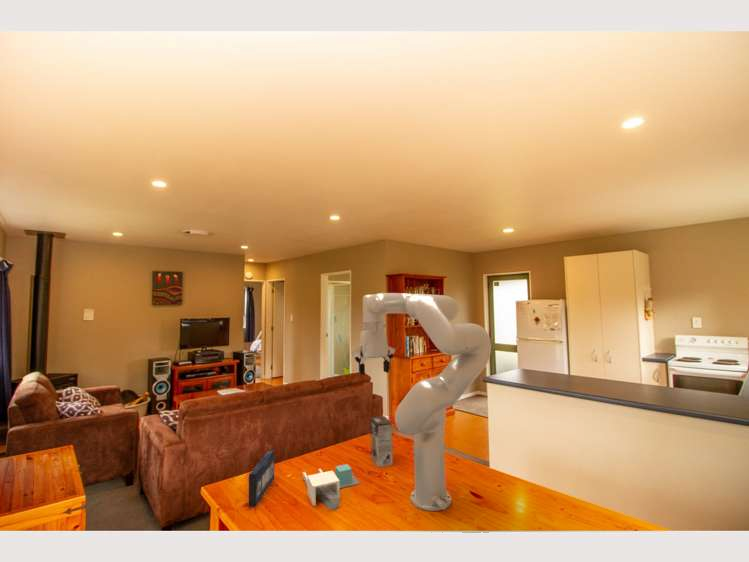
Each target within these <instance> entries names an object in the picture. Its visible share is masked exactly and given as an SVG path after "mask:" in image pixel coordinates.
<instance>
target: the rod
mask: <svg viewBox="0 0 749 562" xmlns="http://www.w3.org/2000/svg"><path fill="white" fill-rule="evenodd" d="M316 495H317V496H318V497H319V498H320V499H321V500H320V499H319V498H318V497H317V496H316V497H317V498H318V499H319V500H320V501H321V502H322V503H323V505H324V506H325V507H326V508H327V509H328V510H329V509H330V510H331V511H333V509H334V510H336V508H337V509H339V508H340V500H339V496H338V495H337V494H336V493H335V492H334V491H333V490H332V489H331V488H330V487H329V486H328V485H325V486H321V487H316ZM330 510H329V511H330Z"/></svg>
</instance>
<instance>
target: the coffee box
mask: <svg viewBox="0 0 749 562" xmlns="http://www.w3.org/2000/svg"><path fill="white" fill-rule="evenodd" d="M369 420H370V447H371V448H370V453H371V454H370V455H371V459H372V460H373V462H374V463H375V465H376V466H377V467H378V468H380V466H381V467H387V465H388V466H392V464H394V463H393V462H394V461H393V423H392V421H390V420H389V419H388V418H387V417H386V416H385V415H383V416H373V417H370V418H369Z"/></svg>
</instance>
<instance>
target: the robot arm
mask: <svg viewBox="0 0 749 562" xmlns="http://www.w3.org/2000/svg"><path fill="white" fill-rule="evenodd" d="M459 310H460V308H459V304H458V302H457V301H456V300H455V299H454V298H453V297H451V296H449V295H444V294H441V295H440V294H429V293H401V292H400V293H399V292H379V293H375V294H371V293H370V294H364V295H363V297H362V319H363V320H362V323H363V325H362V326H363V327H362V329H363V330H362V331H361V332H360V337H359V347H357V348H356V349H354V350H353V351H352V352H351V355H352V356H353V359H354V360H355V362H356V363H358V372H359V374H360V375H362V376H365V375H366V373H365V371H366V370H365V369H366V367H365V361H366V360H367V359H376V358H377V359H378V358H379V359H380V358H382V359H383V364H382V365H383V372H384V373H389V370H390V362H391V359H392V358H393V357H394V354H395V351H396V349H395V348H393V347H391V346H390V345H388V338H387V334H386V331H385V328H387V324H386V323H384V314H385V315H386V314H387V315H389V314H407V315H409V317H410V318H411V319H413V320H417V321H418V323H419V325H420V327H422V329H423V331H424V332H425V333H426V335H427V336H428V337H429V339H430V340H431V342H432V343H433V345H434V346H435V348H437V349H438V351H439V352H441V353H442V354H444V355H447V356H455V357H453V358H452V360H451V361H449V363H448V364H447V366H445V368H444V369H443V370H442V371H441V372H440V373H439V374H437V375H435V376H432V377H430V378H429V377H428V378H424V379H422V380H420V381H418V382H417V383H415V384H414V385H413V386H412V387H411V388H410V390H409V391H408V393H406V395H405V396H404V398H403V399H402V400H401V402H400V403H399V404H398V406H397V408H396V410H395V414H394V423H395V425H396V428H397V429H398V430H399V432H400V433H401V434H404V435H406V436H414V437H413V438H414V439H413V459H414V460H413V462H414V464H413V465H414V490H412V492H411V494H410V502H411V503H412V505H414V506H415V507H416V508H418V509H421V510H424V511H429V512H431V511H434V512H436V511H441V510H442V511H443V510H444V511H445V510H446V509H447V508H448V507H450V505H451V503H452V496H451V494H450V493H449V492H448V490H447V487H446V466H445V465H446V463H445V428H446V427H445V426H446V422H447V421H446V420H447V411H446V409H448V408H451V407H453V406H454V405H456V403H457V402H458V400H459V399H460V398H461V397H462V396H463V395H464V394H465V392H466V391H467V389H468V388H470V386H471V385H472V383H473V382H474V381H475V380H476V379H477V378H478V376H479V375H480V374H481V373H482V372H483V371H484V369H486V366H487V364H488V362H490V361H489V360H490V358H491V353H492V343H491V338H490V335H489V333H488V332H487V330H486V329H485V328H484V327H483V326H481V325H480V324H477V323H473V322H469V323H468V322H467V323H455V324H453V323H452V321H453V320H454V319H456V317H457V316H458V314H459ZM388 351H389V354H388ZM358 355H359V357H358Z"/></svg>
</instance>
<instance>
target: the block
mask: <svg viewBox="0 0 749 562" xmlns="http://www.w3.org/2000/svg"><path fill="white" fill-rule="evenodd" d="M334 468H335V475H336V476H337V478H338V479H339V481H340V485H343V484H347V483H352V474H353V472H352V471H353V469H352V468H351V467H350V465H349V464H348V463H346V464H342V465H341V464H340V465H337V466H336V465H335V467H334Z"/></svg>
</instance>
